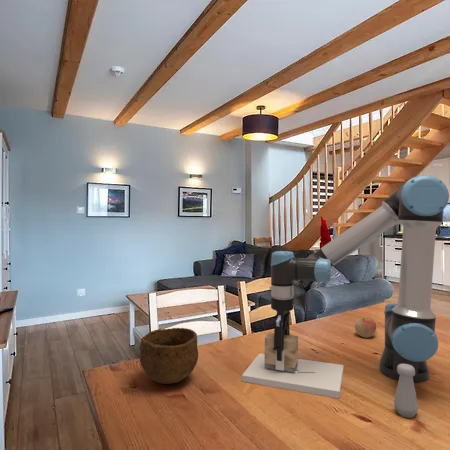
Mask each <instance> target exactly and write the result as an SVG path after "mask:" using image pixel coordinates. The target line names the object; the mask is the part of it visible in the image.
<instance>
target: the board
mask: <svg viewBox="0 0 450 450" xmlns="http://www.w3.org/2000/svg"><path fill="white" fill-rule="evenodd" d="M344 370H345V369H344V364H339V363H331V362H322V361H316V360H309V359H304V358H303V359H302V358H298V366H297V368H296V370H295V372H288V371H282V370H276V369H270V368H265V353H258V354H257V355H256V357H255V358H254V359H253V361H252V362H251V363H250V364H249V366H248V367H247V368H246V370H245V371H244V372H243V373H242V375H241V382H244V383H249V384H255V385H261V386H265V387H272V388H277V389H282V390H283V389H284V390H289V391H294V392H300V393H306V394H311V395H312V394H313V395H317V396H324V397H329V398H330V397H331V398H334V399H340V397H341V392H342V391H341V390H342V385H343V383H342V382H343V377H344V376H343V375H344V372H345V371H344Z"/></svg>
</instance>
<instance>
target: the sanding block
mask: <svg viewBox="0 0 450 450" xmlns="http://www.w3.org/2000/svg"><path fill="white" fill-rule="evenodd" d="M273 348H274V332H268V334H266V336H265V337H264V354H265V368H270V369H276V350H273ZM283 349H284V371H288V372H295V370H296V368H297V366H298V359H299V357H298V355H299V335H298V336H297V335H284V346H283Z"/></svg>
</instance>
